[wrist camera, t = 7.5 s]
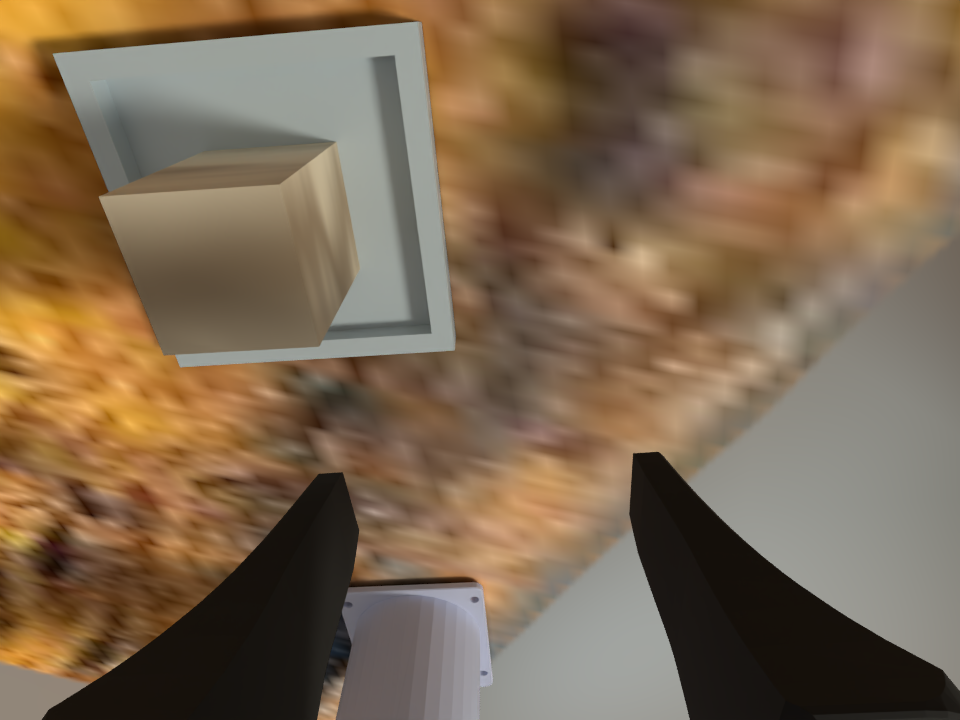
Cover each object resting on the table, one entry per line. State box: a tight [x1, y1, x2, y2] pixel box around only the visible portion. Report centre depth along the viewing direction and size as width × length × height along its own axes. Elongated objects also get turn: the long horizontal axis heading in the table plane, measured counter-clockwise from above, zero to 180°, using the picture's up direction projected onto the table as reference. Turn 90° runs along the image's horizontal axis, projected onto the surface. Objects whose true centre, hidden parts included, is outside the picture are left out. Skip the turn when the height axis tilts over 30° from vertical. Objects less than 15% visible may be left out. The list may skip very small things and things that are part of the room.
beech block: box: [99, 142, 360, 355], centre depth 17 cm, size 4×4×6 cm
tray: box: [53, 22, 456, 367], centre depth 20 cm, size 11×11×1 cm
